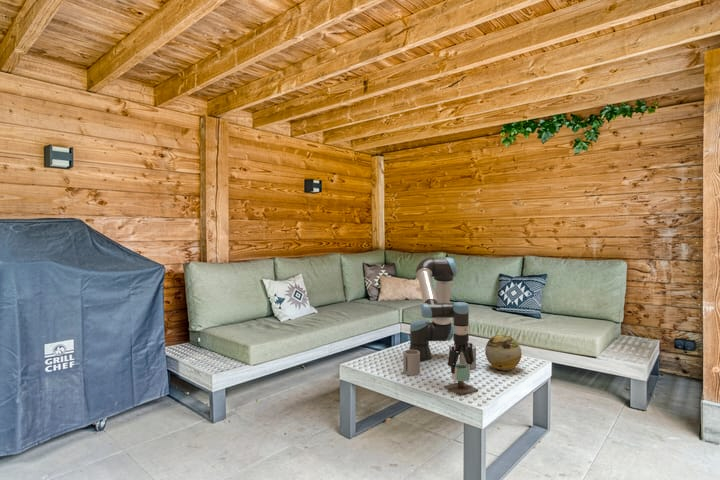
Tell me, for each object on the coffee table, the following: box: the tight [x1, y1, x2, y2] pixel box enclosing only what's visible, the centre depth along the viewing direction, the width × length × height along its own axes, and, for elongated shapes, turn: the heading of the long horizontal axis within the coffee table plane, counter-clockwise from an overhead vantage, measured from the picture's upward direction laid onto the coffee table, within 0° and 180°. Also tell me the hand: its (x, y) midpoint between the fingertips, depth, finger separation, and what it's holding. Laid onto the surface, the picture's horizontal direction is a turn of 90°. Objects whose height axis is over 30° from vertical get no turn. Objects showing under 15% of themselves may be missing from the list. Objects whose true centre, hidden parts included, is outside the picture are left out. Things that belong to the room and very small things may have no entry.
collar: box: [455, 363, 470, 382], centre depth 210 cm, size 8×8×6 cm
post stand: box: [443, 367, 479, 397], centre depth 210 cm, size 12×12×11 cm
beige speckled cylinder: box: [458, 345, 477, 371], centre depth 243 cm, size 10×10×12 cm
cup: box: [403, 349, 421, 377], centre depth 235 cm, size 9×9×12 cm
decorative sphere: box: [484, 334, 523, 371], centre depth 239 cm, size 20×20×20 cm
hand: (460, 377), depth 210 cm, fingers closed on collar, 8 cm apart
